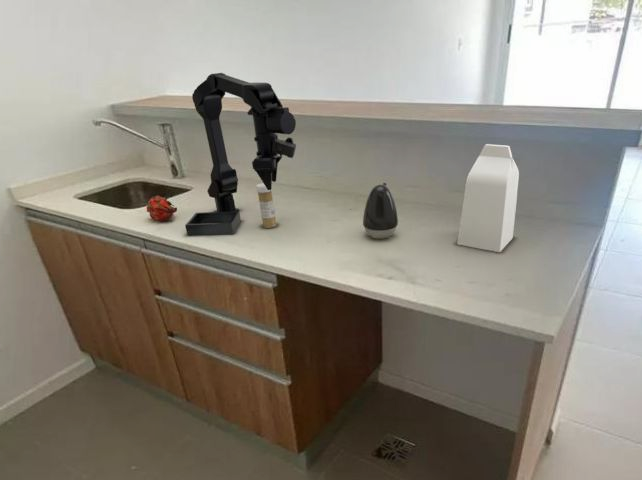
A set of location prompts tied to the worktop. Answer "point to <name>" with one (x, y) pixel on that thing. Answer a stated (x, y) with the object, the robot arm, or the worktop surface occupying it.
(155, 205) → the dragon fruit
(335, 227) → the worktop surface
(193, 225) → the rectangular frame
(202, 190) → the worktop surface
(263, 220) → the sprinkles bottle
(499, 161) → the milk
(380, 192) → the black egg-shaped piece
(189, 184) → the worktop surface
